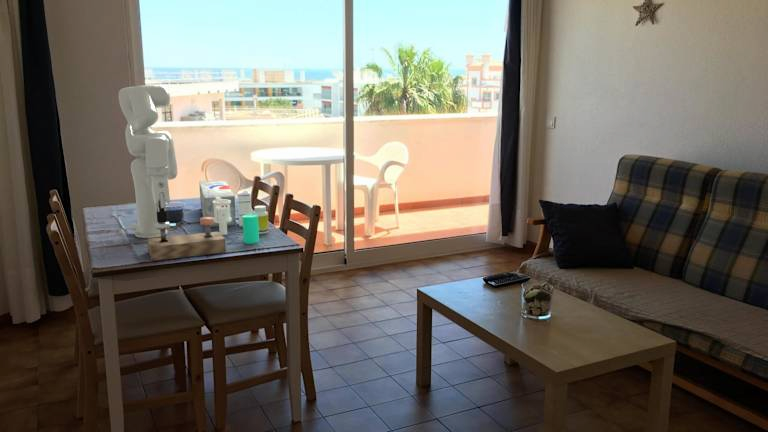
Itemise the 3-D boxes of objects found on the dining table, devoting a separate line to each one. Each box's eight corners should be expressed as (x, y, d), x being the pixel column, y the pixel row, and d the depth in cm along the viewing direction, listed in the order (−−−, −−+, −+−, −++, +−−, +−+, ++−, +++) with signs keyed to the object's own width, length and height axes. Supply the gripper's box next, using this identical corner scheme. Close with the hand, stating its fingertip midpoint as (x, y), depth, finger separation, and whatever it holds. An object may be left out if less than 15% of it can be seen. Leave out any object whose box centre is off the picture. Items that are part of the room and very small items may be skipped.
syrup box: (252, 225, 277) (251, 192, 274) (238, 226, 276) (237, 193, 272) (252, 222, 282) (251, 190, 279) (238, 223, 281) (237, 191, 278)
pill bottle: (271, 231, 267) (270, 205, 265) (263, 235, 262) (261, 208, 259) (259, 230, 270) (258, 204, 267) (250, 233, 264) (249, 207, 262)
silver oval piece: (157, 244, 230) (155, 224, 229) (155, 240, 235) (154, 221, 233) (171, 242, 232) (170, 223, 231) (169, 239, 237) (168, 220, 235)
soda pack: (200, 208, 311) (198, 180, 308) (227, 206, 315) (226, 179, 312) (205, 228, 274) (203, 196, 270) (236, 226, 278) (234, 194, 274)
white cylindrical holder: (225, 231, 268) (223, 195, 265) (235, 233, 264) (234, 198, 260) (211, 234, 263) (209, 198, 259) (221, 237, 258) (219, 200, 255)
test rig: (152, 260, 227) (151, 247, 226) (148, 252, 238) (147, 238, 237) (225, 251, 238) (225, 238, 237) (219, 243, 249) (218, 231, 248)
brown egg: (202, 239, 237) (201, 220, 235) (200, 236, 241) (198, 217, 240) (216, 237, 239) (215, 219, 237) (213, 234, 243) (212, 216, 242)
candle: (255, 244, 249) (254, 213, 246) (241, 243, 250) (239, 213, 247) (261, 240, 254) (260, 210, 252) (247, 239, 256) (245, 209, 253)
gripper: (172, 174, 223) (176, 225, 227) (166, 168, 236) (170, 216, 240) (149, 175, 219) (153, 227, 223) (144, 169, 233) (148, 218, 237)
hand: (162, 221), depth 232 cm, fingers closed
